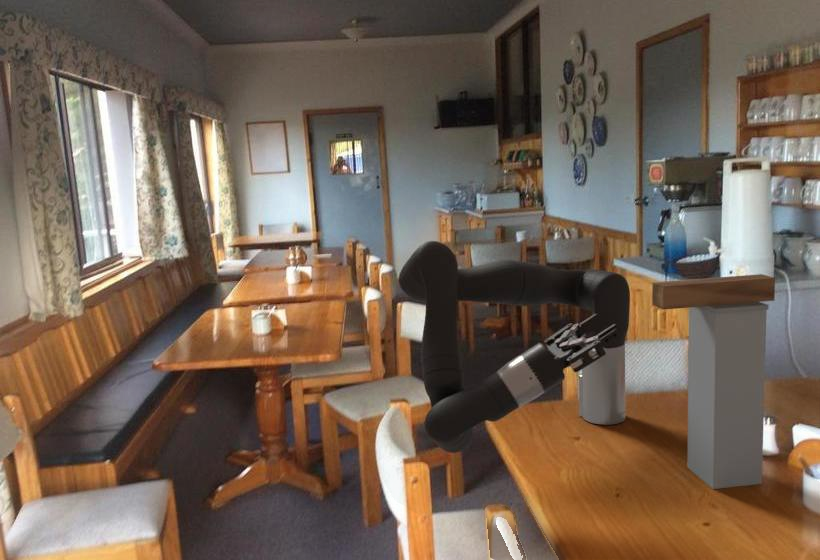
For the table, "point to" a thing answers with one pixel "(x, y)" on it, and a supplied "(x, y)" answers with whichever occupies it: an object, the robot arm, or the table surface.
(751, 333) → the stand
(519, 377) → the robot arm
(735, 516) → the table surface
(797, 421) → the table surface
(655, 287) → the walnut bar
